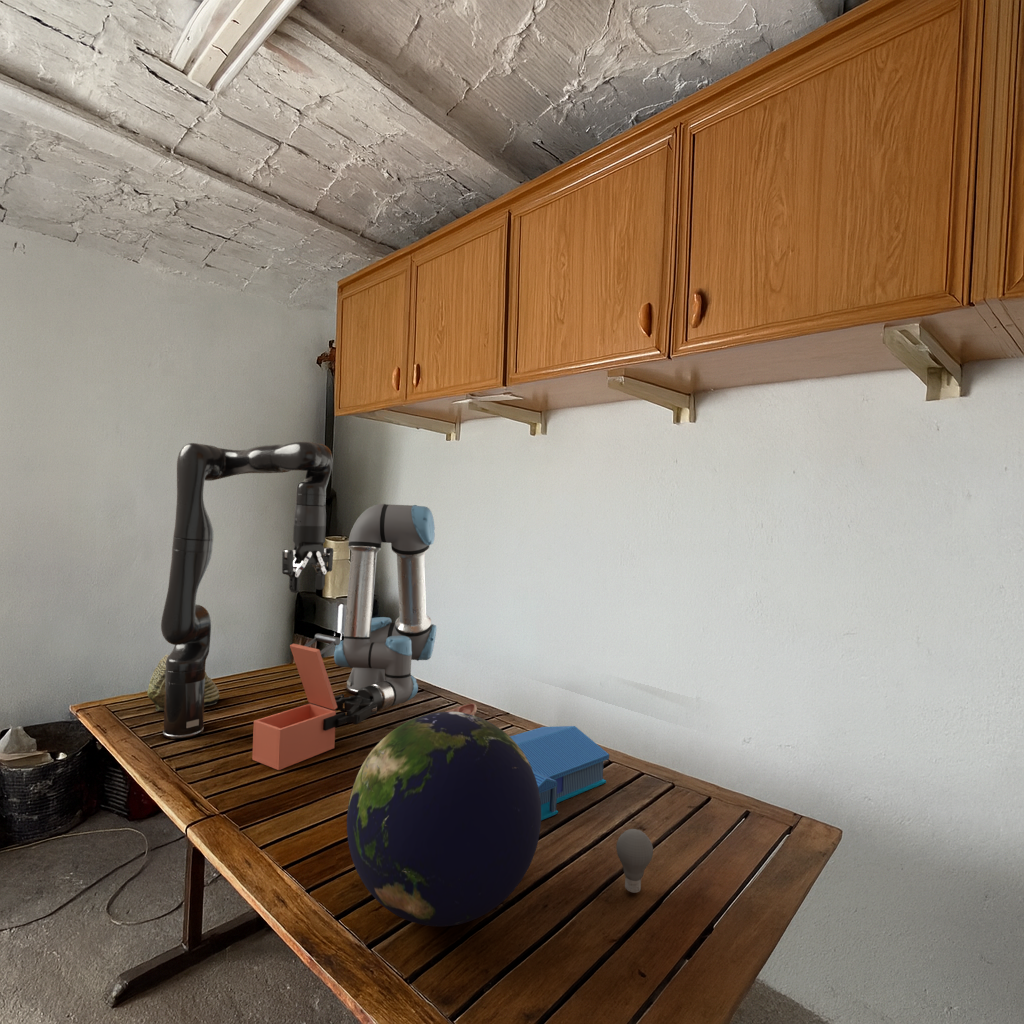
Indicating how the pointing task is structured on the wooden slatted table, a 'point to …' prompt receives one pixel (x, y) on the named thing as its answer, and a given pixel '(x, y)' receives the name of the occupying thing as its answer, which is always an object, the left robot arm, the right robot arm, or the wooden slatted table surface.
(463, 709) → the anatomical model
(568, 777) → the model building
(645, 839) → the light bulb
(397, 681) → the right robot arm
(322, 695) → the lid
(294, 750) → the chest
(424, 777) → the globe
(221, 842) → the wooden slatted table surface
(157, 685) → the fossil
